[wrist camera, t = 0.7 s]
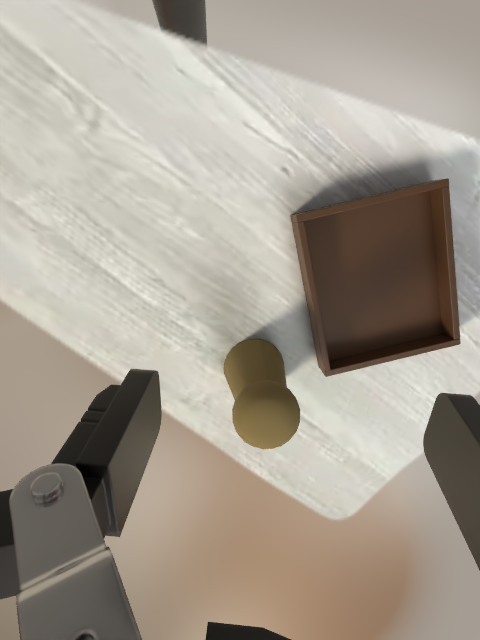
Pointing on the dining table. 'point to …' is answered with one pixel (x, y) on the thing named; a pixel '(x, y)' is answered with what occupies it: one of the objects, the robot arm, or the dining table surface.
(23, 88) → the dining table surface
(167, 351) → the dining table surface
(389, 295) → the tray
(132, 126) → the dining table surface
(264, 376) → the cork
